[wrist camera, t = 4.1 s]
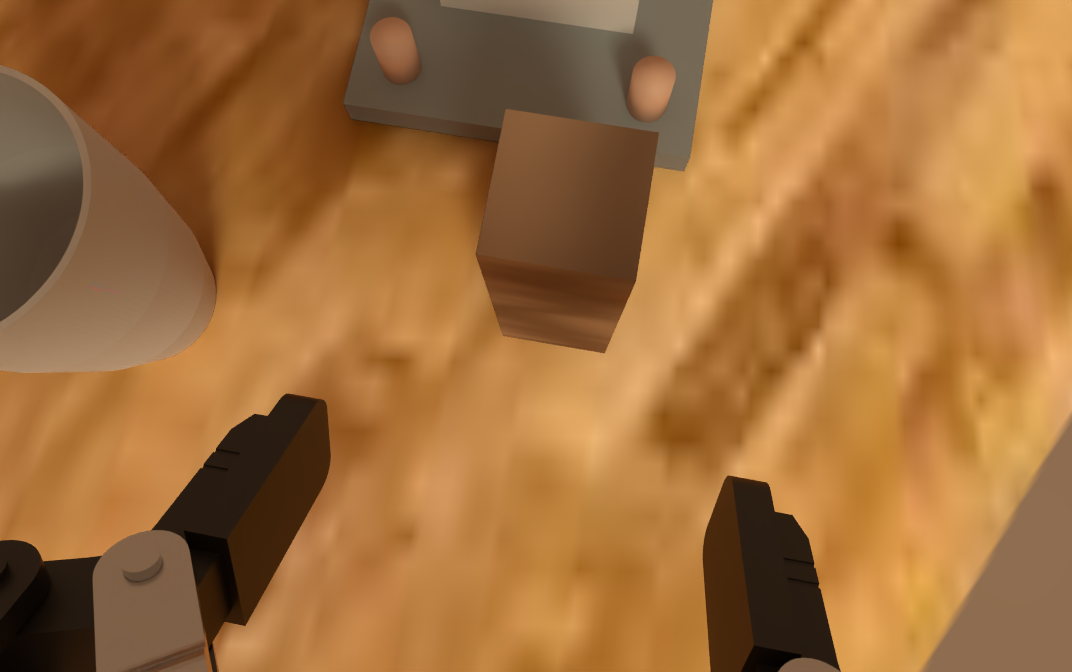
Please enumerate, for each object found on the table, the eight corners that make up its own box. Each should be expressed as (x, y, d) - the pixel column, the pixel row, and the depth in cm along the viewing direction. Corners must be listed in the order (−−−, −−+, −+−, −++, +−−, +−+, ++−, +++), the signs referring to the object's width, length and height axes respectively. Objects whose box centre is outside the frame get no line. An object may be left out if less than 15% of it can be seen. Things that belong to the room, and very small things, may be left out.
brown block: (503, 335, 27) (475, 254, 17) (521, 239, 28) (505, 109, 18) (604, 353, 27) (635, 280, 17) (620, 255, 27) (659, 132, 18)
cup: (222, 176, 28) (49, 18, 19) (280, 356, 27) (124, 286, 17) (32, 246, 28) (-248, 122, 18) (79, 433, 26) (-199, 407, 17)
